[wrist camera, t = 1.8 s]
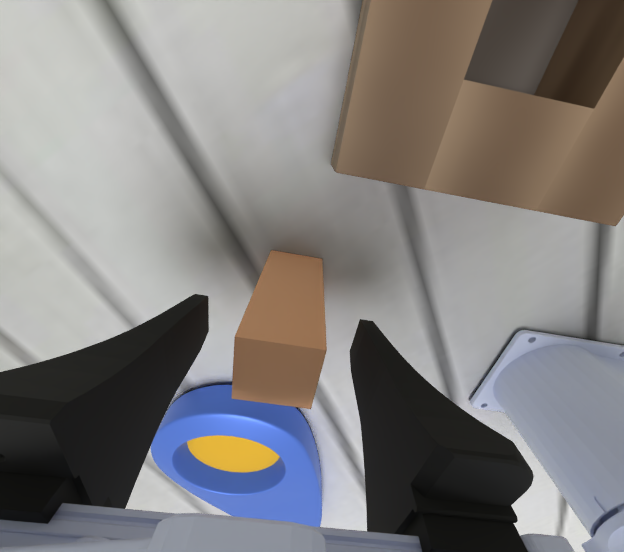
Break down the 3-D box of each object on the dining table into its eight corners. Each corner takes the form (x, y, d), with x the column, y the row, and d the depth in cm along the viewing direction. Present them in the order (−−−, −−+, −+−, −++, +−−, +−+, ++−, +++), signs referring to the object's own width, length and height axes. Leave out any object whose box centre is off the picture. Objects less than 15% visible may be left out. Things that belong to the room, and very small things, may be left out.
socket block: (741, -140, 9) (1015, -321, 6) (542, 205, 15) (615, 226, 11) (409, -241, 8) (478, -526, 5) (330, 164, 14) (335, 172, 10)
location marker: (356, 503, 32) (277, 364, 21) (360, 541, 29) (271, 404, 18) (257, 517, 34) (137, 398, 23) (251, 553, 31) (111, 438, 20)
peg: (322, 258, 16) (326, 350, 9) (313, 301, 18) (311, 408, 11) (271, 250, 16) (234, 336, 9) (266, 294, 18) (231, 398, 10)
